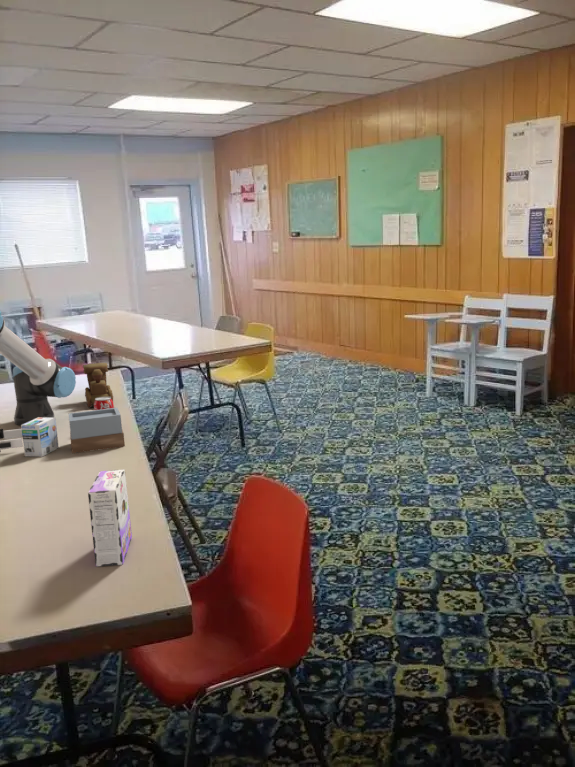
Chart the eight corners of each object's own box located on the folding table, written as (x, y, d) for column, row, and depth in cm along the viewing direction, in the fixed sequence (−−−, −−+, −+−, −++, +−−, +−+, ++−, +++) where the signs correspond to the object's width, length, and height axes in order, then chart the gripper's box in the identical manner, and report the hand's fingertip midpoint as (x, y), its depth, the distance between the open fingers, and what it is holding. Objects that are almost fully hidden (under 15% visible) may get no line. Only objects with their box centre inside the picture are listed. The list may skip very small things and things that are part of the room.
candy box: (106, 540, 156) (98, 470, 152) (132, 538, 156) (125, 468, 153) (94, 567, 142) (86, 491, 139) (123, 565, 142) (115, 489, 139)
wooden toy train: (85, 400, 310) (81, 364, 307) (111, 398, 313) (107, 361, 310) (87, 409, 291) (83, 371, 288) (115, 406, 295) (111, 368, 292)
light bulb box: (42, 457, 224) (38, 424, 222) (24, 456, 226) (19, 424, 224) (59, 447, 235) (56, 416, 233) (41, 447, 236) (38, 416, 234)
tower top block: (70, 431, 238) (68, 413, 237) (119, 424, 243) (117, 407, 242) (71, 439, 226) (69, 421, 225) (122, 432, 231) (120, 414, 230)
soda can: (120, 428, 257) (116, 396, 255) (107, 433, 251) (104, 400, 248) (105, 427, 260) (101, 395, 258) (92, 431, 254) (88, 399, 251)
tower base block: (71, 444, 239) (70, 430, 238) (121, 438, 244) (120, 424, 243) (72, 454, 227) (70, 439, 226) (125, 447, 232) (123, 433, 231)
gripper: (-40, 447, 233) (26, 439, 240) (-52, 468, 210) (22, 458, 216) (-44, 425, 232) (24, 418, 238) (-56, 444, 209) (19, 435, 215)
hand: (23, 437), depth 227 cm, fingers open, 13 cm apart
